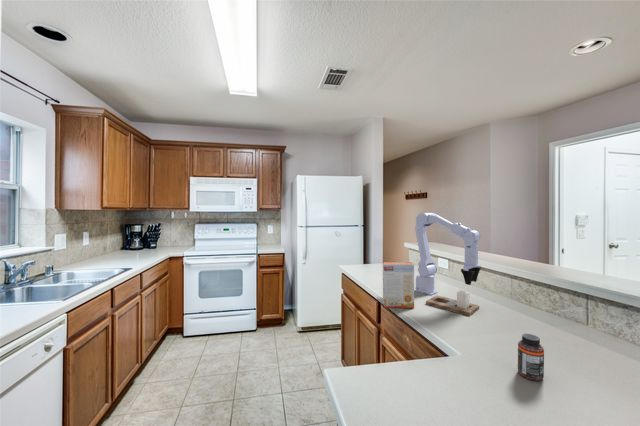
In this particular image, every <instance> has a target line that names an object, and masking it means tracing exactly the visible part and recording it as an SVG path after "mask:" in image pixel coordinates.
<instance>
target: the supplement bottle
mask: <svg viewBox="0 0 640 426" xmlns="http://www.w3.org/2000/svg"><path fill="white" fill-rule="evenodd" d="M540 343H541V339H540V336H539V337H538V335H535V334H532V333H523V334H522V335H521V340H519V341H518V342H517V372H518V373H519V374H520V375H521V376H522V377H523V378H525V379H527V380H530V381H533V382H540V381H542V380H543V379H544V375H545V348H544V346H542V344H540Z"/></svg>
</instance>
